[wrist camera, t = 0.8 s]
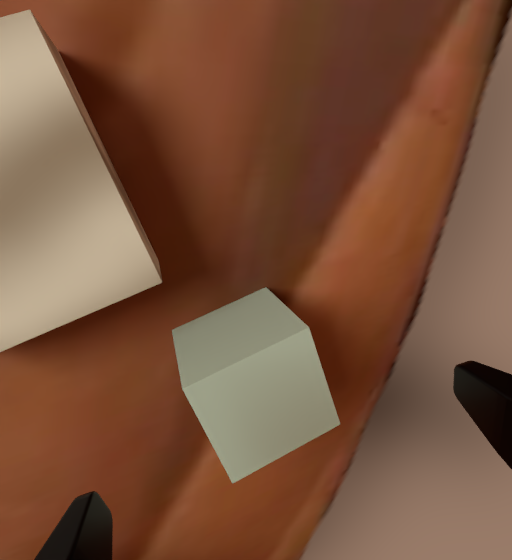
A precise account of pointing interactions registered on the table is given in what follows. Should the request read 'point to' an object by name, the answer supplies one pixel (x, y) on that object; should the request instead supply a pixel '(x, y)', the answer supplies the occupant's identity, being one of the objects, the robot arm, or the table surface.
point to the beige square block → (57, 197)
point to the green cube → (254, 381)
